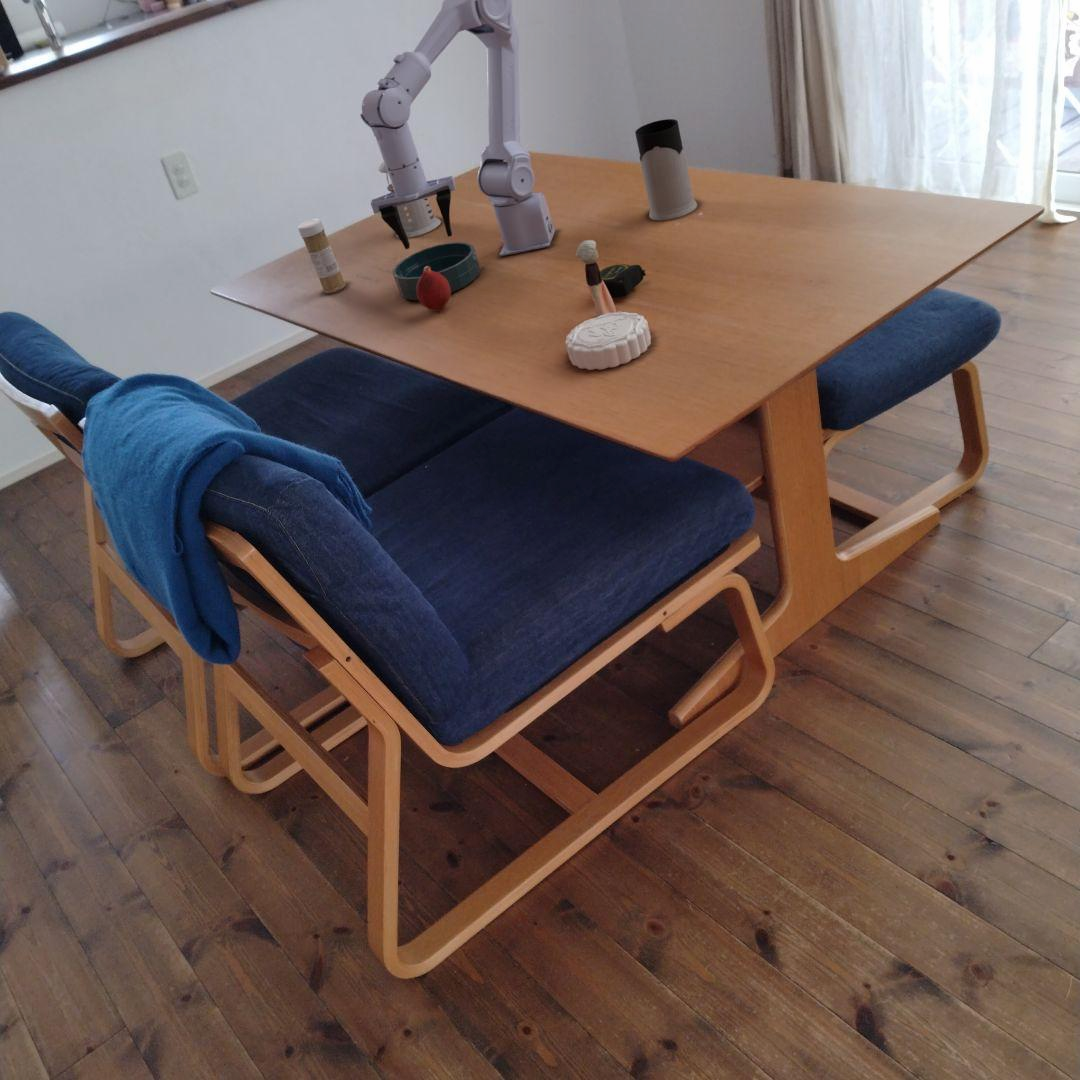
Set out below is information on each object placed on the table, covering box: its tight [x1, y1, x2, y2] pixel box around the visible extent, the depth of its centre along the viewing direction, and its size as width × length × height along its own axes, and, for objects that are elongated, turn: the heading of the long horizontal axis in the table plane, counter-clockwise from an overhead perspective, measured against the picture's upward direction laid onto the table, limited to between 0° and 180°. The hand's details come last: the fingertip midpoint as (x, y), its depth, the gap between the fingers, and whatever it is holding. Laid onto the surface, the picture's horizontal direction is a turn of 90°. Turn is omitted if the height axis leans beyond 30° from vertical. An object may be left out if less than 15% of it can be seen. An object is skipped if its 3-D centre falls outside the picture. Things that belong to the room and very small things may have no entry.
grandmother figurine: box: [575, 239, 617, 318], centre depth 164 cm, size 8×4×13 cm, turn 12°
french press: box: [377, 161, 442, 239], centre depth 225 cm, size 10×12×25 cm
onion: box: [416, 266, 452, 312], centre depth 187 cm, size 6×6×8 cm
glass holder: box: [634, 118, 698, 221], centre depth 197 cm, size 9×14×15 cm, turn 167°
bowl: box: [392, 241, 482, 301], centre depth 199 cm, size 15×15×4 cm
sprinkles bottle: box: [297, 218, 346, 294], centre depth 209 cm, size 5×5×14 cm
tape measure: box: [600, 263, 646, 300], centre depth 173 cm, size 7×7×4 cm
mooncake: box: [565, 311, 652, 371], centre depth 157 cm, size 12×12×4 cm
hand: (428, 240), depth 191 cm, fingers open, 7 cm apart
